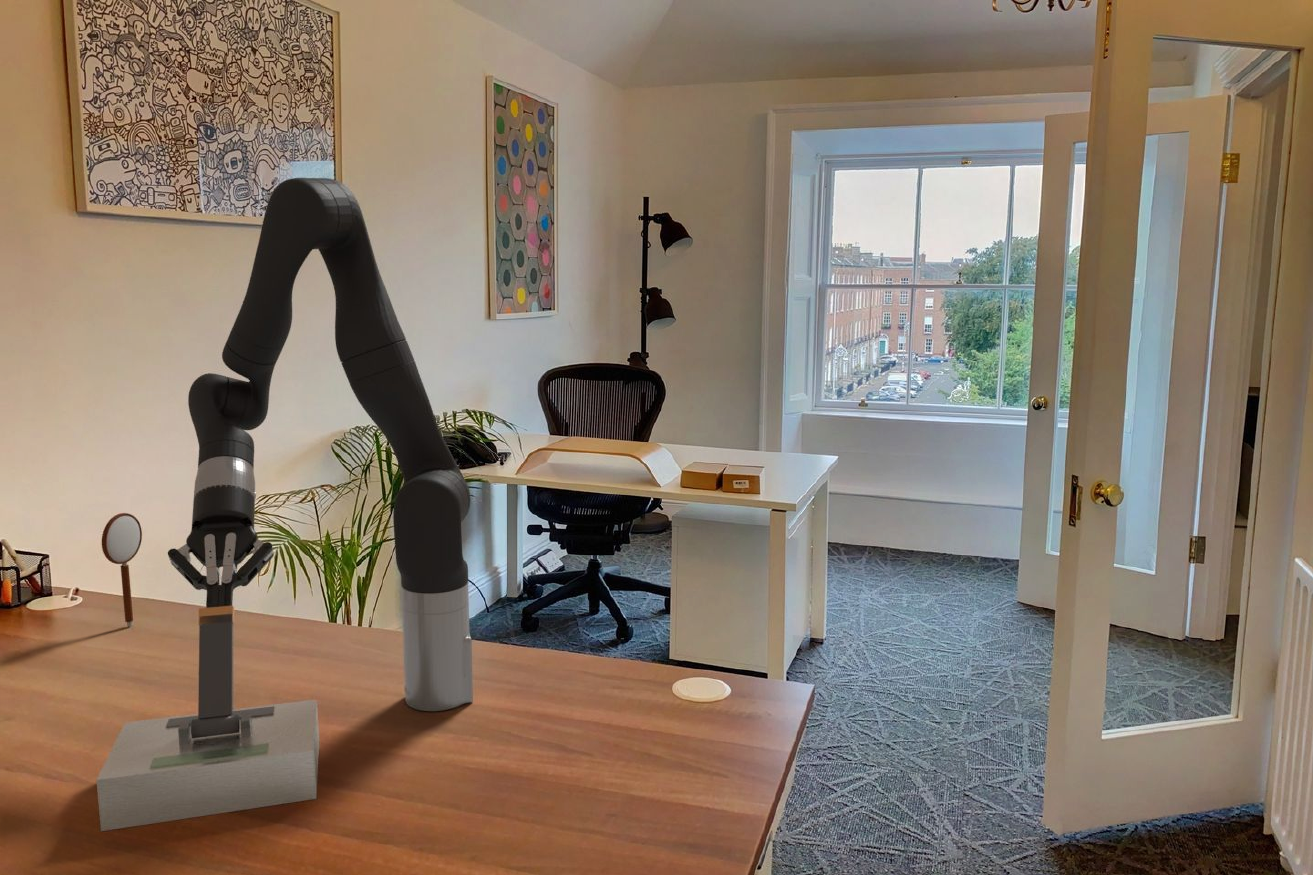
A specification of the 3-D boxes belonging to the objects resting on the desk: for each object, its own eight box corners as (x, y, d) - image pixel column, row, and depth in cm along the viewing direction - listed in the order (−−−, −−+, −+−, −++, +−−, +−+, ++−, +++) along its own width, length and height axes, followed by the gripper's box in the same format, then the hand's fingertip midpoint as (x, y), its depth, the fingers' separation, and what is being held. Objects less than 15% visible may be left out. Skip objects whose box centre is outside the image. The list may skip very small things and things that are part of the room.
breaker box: (319, 742, 122) (316, 684, 120) (316, 798, 108) (312, 734, 107) (128, 768, 115) (123, 706, 113) (101, 831, 102) (94, 762, 100)
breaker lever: (240, 733, 112) (239, 607, 117) (237, 731, 110) (237, 604, 115) (193, 738, 110) (195, 611, 115) (190, 737, 108) (192, 608, 113)
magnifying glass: (115, 636, 157) (105, 520, 154) (106, 635, 157) (96, 519, 154) (151, 618, 165) (142, 508, 162) (143, 617, 166) (134, 507, 162)
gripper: (164, 485, 121) (154, 607, 112) (274, 480, 125) (273, 596, 116) (175, 516, 127) (165, 633, 118) (279, 509, 131) (278, 623, 122)
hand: (219, 615), depth 117 cm, fingers closed
